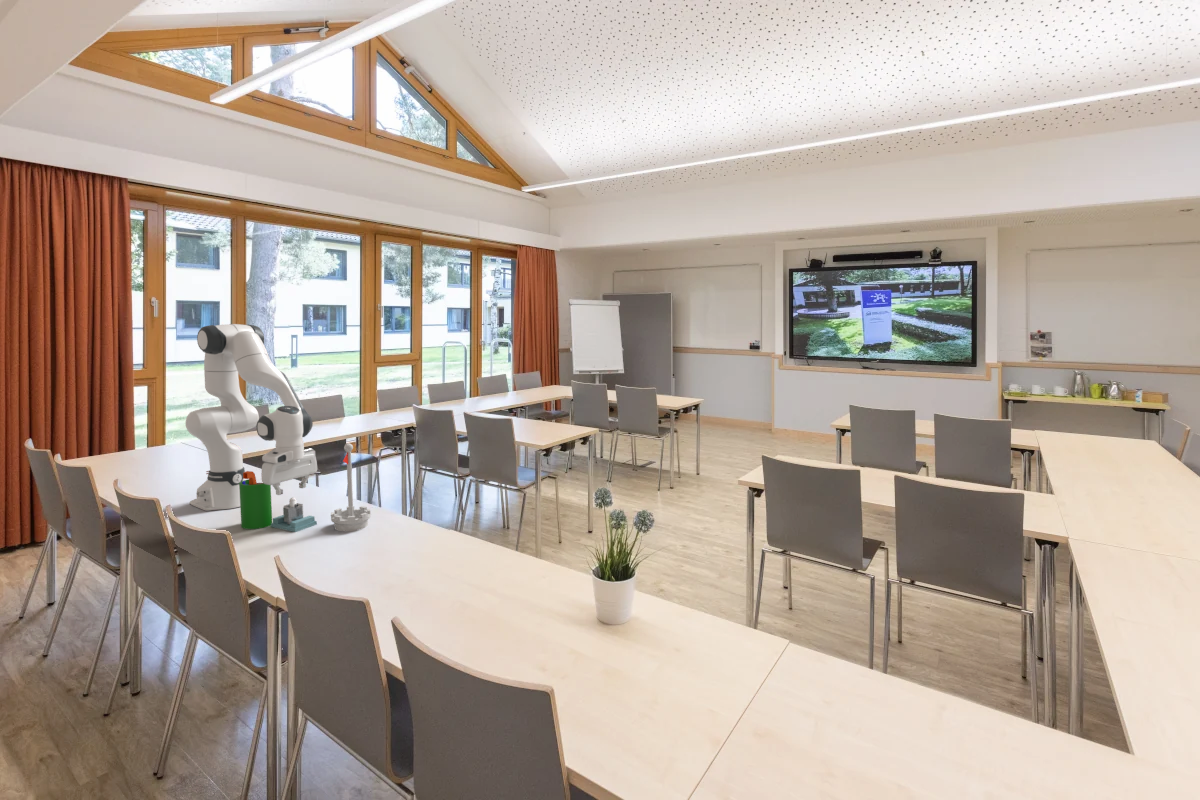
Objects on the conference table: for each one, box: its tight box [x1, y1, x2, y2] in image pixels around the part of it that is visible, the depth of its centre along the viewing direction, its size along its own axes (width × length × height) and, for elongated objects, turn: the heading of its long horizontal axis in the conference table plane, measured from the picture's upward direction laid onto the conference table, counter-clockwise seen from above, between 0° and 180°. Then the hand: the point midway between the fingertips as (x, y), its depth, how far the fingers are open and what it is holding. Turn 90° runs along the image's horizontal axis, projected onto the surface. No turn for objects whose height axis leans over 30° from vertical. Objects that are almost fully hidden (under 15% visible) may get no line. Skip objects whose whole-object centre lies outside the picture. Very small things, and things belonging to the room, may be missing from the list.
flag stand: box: [330, 442, 372, 532], centre depth 218 cm, size 13×13×30 cm
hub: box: [282, 502, 304, 523], centre depth 219 cm, size 6×6×5 cm
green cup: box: [239, 470, 273, 530], centre depth 218 cm, size 10×9×20 cm
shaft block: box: [270, 497, 318, 533], centre depth 219 cm, size 12×9×10 cm
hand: (291, 491), depth 218 cm, fingers open, 8 cm apart
